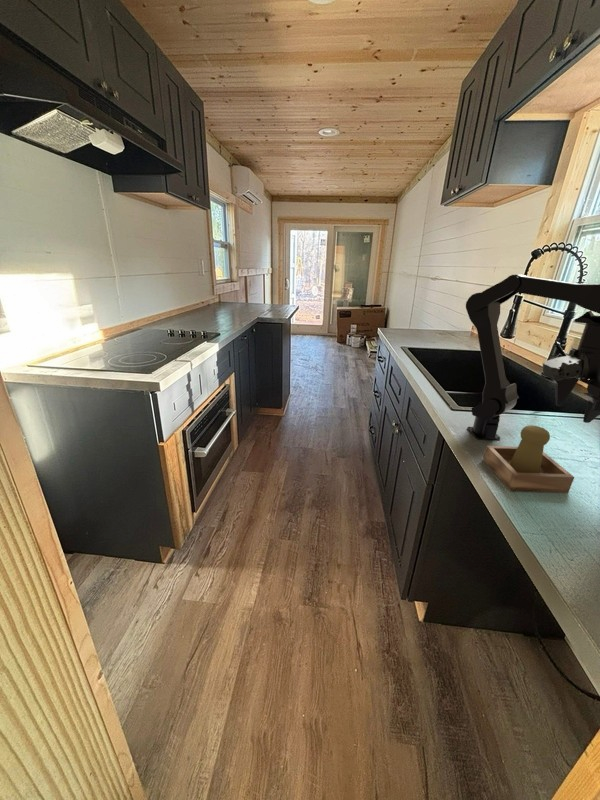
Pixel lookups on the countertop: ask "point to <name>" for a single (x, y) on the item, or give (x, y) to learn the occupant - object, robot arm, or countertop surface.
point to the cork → (530, 450)
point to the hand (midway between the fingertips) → (571, 413)
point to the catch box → (545, 481)
